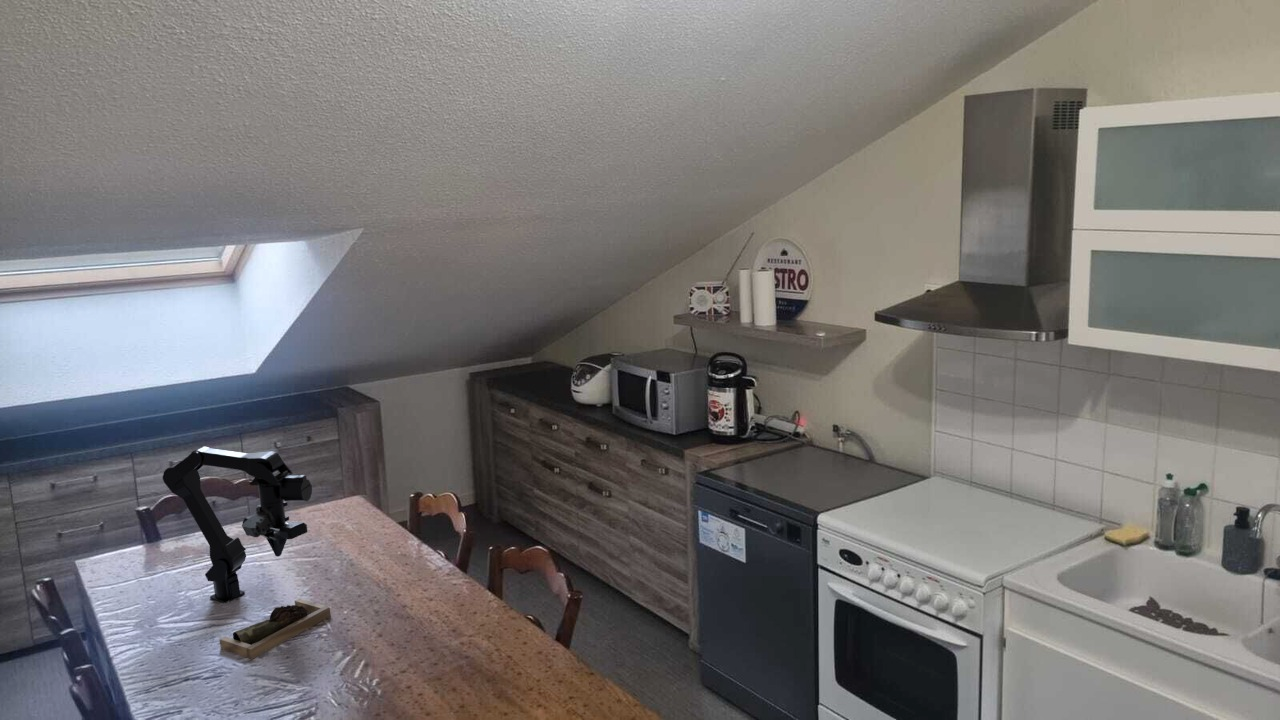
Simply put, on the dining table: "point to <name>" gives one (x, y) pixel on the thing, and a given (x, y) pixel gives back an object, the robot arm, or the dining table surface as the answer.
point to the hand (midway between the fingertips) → (278, 555)
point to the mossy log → (271, 624)
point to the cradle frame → (279, 632)
